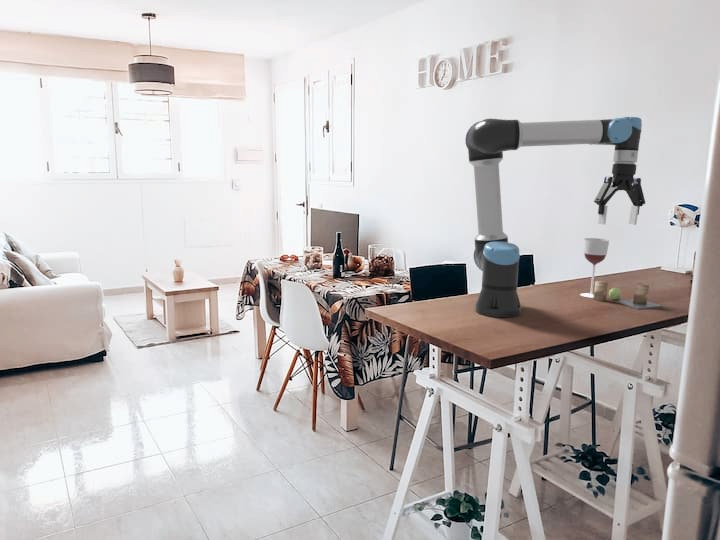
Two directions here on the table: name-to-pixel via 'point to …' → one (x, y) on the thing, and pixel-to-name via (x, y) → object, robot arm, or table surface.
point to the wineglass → (594, 256)
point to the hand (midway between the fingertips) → (617, 224)
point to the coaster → (638, 306)
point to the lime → (615, 293)
